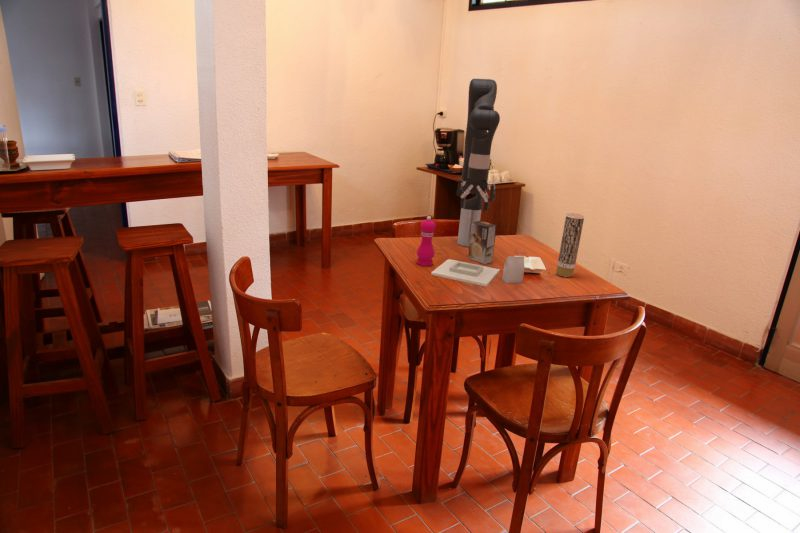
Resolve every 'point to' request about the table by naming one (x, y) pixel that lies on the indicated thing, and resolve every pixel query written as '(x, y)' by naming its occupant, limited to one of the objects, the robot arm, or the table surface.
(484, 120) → the robot arm
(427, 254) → the pepper mill
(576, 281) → the table surface
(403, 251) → the table surface
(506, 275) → the white tea box
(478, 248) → the coffee box
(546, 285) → the table surface
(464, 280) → the white switch plate
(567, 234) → the paper tube
